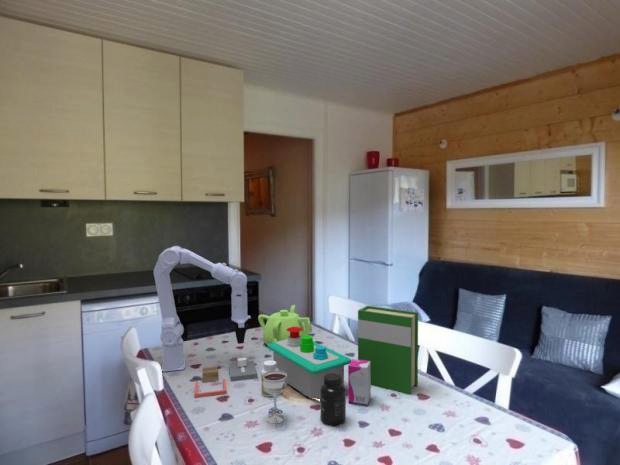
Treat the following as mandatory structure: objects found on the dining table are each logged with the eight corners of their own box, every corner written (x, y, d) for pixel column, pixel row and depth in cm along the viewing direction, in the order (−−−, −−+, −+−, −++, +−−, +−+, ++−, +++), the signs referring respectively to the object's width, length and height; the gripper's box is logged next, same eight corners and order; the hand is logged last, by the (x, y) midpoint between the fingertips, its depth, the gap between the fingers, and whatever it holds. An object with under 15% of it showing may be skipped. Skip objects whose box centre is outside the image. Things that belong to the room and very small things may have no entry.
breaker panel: (228, 367, 142) (228, 363, 141) (253, 364, 144) (253, 360, 144) (230, 381, 130) (230, 376, 130) (257, 378, 132) (257, 373, 132)
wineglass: (258, 417, 107) (257, 374, 106) (278, 409, 111) (277, 368, 111) (272, 427, 102) (271, 383, 101) (292, 418, 106) (292, 375, 106)
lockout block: (202, 377, 134) (202, 367, 134) (217, 375, 135) (217, 365, 135) (203, 383, 129) (202, 373, 129) (218, 381, 131) (218, 371, 130)
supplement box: (371, 397, 118) (371, 360, 117) (367, 406, 112) (367, 368, 112) (352, 394, 120) (352, 358, 119) (347, 403, 114) (347, 365, 114)
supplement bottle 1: (276, 397, 118) (275, 366, 118) (259, 396, 119) (258, 365, 119) (281, 389, 123) (280, 359, 123) (264, 388, 125) (264, 358, 124)
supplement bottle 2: (316, 416, 107) (316, 374, 107) (338, 411, 110) (338, 369, 109) (327, 429, 101) (327, 384, 100) (350, 423, 104) (350, 379, 103)
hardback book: (417, 385, 126) (418, 312, 124) (410, 394, 119) (411, 317, 118) (367, 373, 135) (367, 305, 134) (358, 381, 129) (358, 310, 127)
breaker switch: (237, 364, 140) (237, 358, 139) (245, 363, 140) (245, 357, 140) (238, 366, 137) (237, 360, 137) (246, 365, 138) (246, 359, 138)
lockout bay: (195, 384, 127) (195, 381, 127) (225, 381, 130) (225, 378, 130) (194, 397, 119) (194, 394, 119) (226, 393, 121) (226, 390, 121)
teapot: (272, 354, 154) (271, 318, 154) (256, 339, 172) (255, 307, 172) (314, 346, 163) (313, 312, 162) (294, 333, 181) (294, 302, 180)
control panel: (314, 351, 112) (264, 326, 136) (315, 407, 113) (265, 372, 137) (354, 340, 120) (300, 319, 145) (354, 392, 121) (301, 362, 146)
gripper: (252, 309, 138) (253, 346, 139) (248, 300, 152) (248, 334, 153) (232, 310, 136) (233, 348, 137) (229, 301, 150) (230, 335, 151)
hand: (240, 341), depth 145 cm, fingers open, 3 cm apart
